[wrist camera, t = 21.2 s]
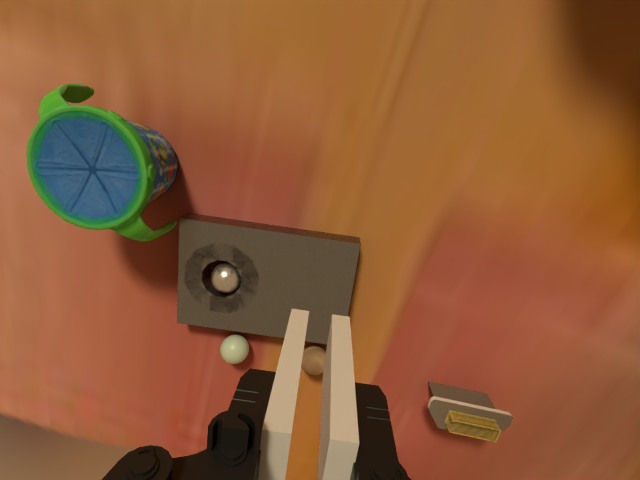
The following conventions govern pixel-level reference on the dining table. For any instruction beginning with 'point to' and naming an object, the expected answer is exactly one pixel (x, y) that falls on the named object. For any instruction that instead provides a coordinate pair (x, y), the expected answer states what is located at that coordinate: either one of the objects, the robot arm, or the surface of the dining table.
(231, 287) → the steel ball
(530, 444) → the dining table surface
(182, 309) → the plate
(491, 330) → the dining table surface
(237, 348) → the pale green ball
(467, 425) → the platform
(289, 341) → the robot arm
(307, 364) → the cork ball
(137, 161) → the snack cup
